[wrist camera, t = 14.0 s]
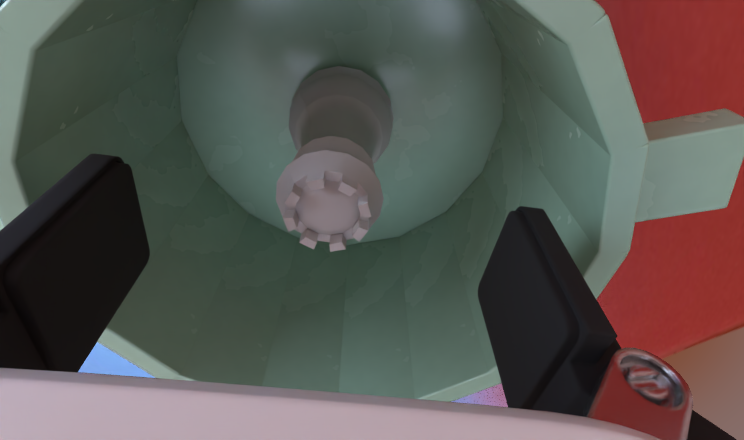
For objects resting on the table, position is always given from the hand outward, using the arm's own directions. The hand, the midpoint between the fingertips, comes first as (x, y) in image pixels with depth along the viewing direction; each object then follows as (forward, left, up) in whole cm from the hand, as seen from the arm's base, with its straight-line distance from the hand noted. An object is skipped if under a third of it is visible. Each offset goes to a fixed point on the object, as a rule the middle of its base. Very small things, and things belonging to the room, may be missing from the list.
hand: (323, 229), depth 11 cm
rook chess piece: (0, 0, -9) cm, 9 cm away
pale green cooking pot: (+1, 0, -10) cm, 10 cm away
